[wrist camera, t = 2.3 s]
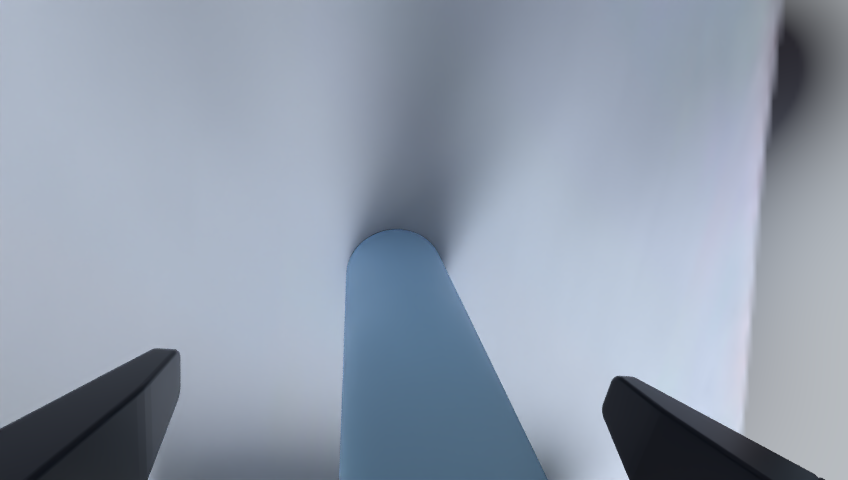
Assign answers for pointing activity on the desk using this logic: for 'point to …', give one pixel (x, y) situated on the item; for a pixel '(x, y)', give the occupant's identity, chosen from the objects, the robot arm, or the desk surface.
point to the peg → (420, 375)
